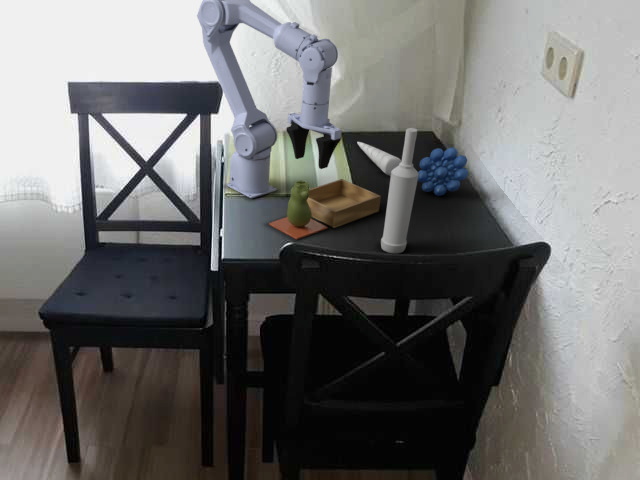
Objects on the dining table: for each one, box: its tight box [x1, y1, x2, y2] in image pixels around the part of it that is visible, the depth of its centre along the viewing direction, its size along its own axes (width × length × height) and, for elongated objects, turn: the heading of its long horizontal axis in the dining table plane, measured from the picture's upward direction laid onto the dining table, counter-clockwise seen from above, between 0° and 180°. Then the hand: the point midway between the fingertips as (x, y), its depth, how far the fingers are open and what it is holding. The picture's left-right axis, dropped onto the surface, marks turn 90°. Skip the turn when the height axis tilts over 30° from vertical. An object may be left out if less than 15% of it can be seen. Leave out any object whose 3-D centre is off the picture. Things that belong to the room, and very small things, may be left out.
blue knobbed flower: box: [417, 147, 469, 197], centre depth 175 cm, size 12×7×12 cm, turn 59°
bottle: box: [380, 127, 419, 254], centre depth 148 cm, size 5×5×25 cm
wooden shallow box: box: [307, 178, 382, 229], centre depth 169 cm, size 12×14×4 cm
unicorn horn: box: [357, 141, 402, 177], centre depth 195 cm, size 5×24×5 cm, turn 9°
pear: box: [286, 180, 313, 227], centre depth 160 cm, size 6×5×10 cm
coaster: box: [268, 216, 328, 241], centre depth 163 cm, size 9×9×1 cm
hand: (311, 162), depth 166 cm, fingers open, 7 cm apart
